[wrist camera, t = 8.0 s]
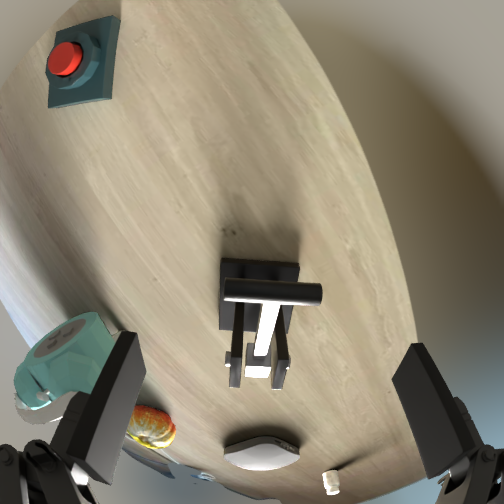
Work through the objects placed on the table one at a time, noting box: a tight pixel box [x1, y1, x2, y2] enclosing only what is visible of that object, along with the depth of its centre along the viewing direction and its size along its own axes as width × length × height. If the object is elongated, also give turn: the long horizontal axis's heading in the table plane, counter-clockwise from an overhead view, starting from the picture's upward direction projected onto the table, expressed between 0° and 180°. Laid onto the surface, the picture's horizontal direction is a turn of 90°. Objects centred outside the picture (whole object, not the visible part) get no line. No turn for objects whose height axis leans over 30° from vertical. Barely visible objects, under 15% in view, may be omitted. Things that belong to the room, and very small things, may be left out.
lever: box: [223, 278, 323, 377], centre depth 22 cm, size 13×6×2 cm, turn 176°
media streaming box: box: [224, 437, 300, 470], centre depth 53 cm, size 15×15×3 cm
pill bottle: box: [323, 470, 340, 495], centre depth 60 cm, size 4×4×8 cm
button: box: [48, 42, 83, 75], centre depth 19 cm, size 4×4×2 cm
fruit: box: [127, 405, 176, 449], centre depth 46 cm, size 11×10×8 cm
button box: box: [45, 15, 121, 108], centre depth 21 cm, size 10×8×4 cm
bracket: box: [219, 258, 300, 390], centre depth 30 cm, size 10×9×13 cm
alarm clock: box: [14, 312, 125, 424], centre depth 30 cm, size 17×10×20 cm, turn 112°
